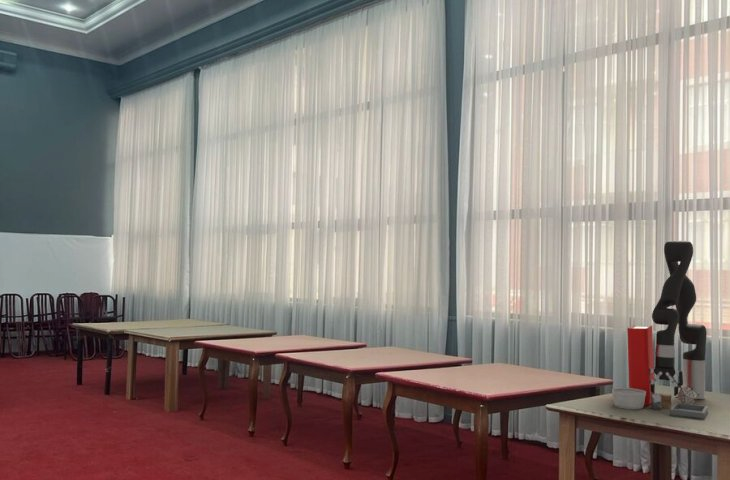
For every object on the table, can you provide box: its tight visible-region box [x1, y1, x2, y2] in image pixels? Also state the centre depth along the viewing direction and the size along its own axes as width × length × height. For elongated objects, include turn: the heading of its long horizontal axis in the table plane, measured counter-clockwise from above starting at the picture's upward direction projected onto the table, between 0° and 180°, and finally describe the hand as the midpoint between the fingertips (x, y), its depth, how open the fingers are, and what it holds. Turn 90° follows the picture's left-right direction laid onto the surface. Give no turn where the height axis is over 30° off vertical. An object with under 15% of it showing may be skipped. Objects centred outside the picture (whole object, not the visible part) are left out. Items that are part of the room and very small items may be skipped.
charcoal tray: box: [669, 402, 709, 421], centre depth 283 cm, size 18×12×2 cm, turn 149°
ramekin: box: [611, 387, 646, 410], centre depth 295 cm, size 13×13×7 cm
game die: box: [674, 386, 700, 405], centre depth 303 cm, size 9×8×10 cm
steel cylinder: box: [650, 392, 662, 410], centre depth 293 cm, size 4×4×6 cm
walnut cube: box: [658, 392, 672, 409], centre depth 299 cm, size 5×5×5 cm
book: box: [626, 324, 655, 406], centre depth 312 cm, size 27×8×32 cm, turn 154°
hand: (664, 394), depth 299 cm, fingers open, 8 cm apart
